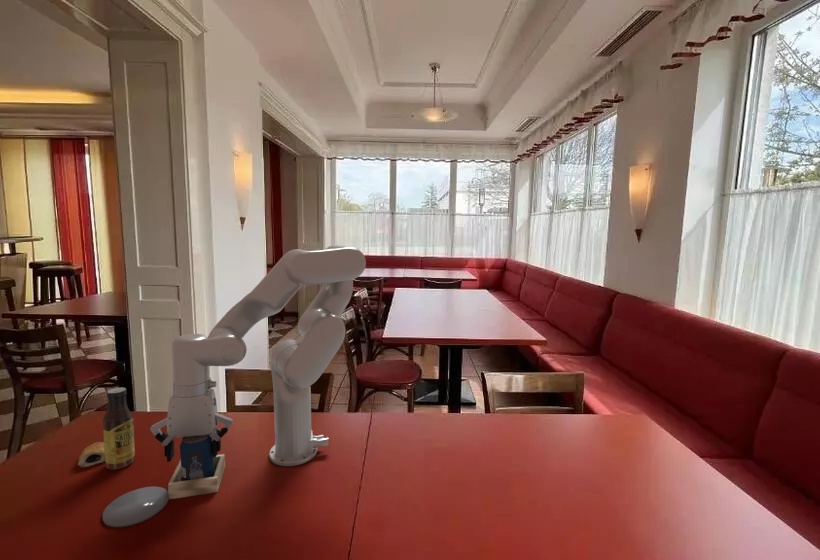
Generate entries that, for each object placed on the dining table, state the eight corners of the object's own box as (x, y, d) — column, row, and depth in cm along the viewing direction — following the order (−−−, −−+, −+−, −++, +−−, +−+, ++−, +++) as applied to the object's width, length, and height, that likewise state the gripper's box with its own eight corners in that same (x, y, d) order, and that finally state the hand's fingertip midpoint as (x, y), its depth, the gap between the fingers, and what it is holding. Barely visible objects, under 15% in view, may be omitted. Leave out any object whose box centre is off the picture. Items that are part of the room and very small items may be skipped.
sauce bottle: (119, 473, 98) (113, 397, 96) (99, 469, 100) (92, 394, 97) (142, 458, 105) (136, 386, 102) (122, 455, 106) (116, 384, 103)
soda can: (205, 469, 100) (203, 425, 99) (220, 480, 96) (218, 434, 95) (177, 483, 95) (173, 437, 93) (191, 495, 91) (188, 446, 89)
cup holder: (225, 466, 102) (224, 454, 101) (217, 492, 92) (216, 478, 92) (181, 472, 99) (180, 459, 98) (168, 499, 89) (167, 485, 89)
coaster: (175, 485, 94) (175, 483, 94) (158, 521, 83) (158, 518, 83) (117, 493, 91) (117, 491, 91) (91, 532, 79) (90, 529, 79)
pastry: (84, 451, 108) (83, 438, 107) (115, 445, 111) (114, 432, 111) (77, 470, 100) (76, 456, 99) (110, 462, 103) (109, 449, 103)
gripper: (234, 379, 98) (235, 444, 100) (155, 383, 93) (157, 451, 95) (229, 391, 91) (230, 461, 93) (143, 396, 86) (146, 469, 88)
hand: (193, 456), depth 94 cm, fingers open, 9 cm apart
